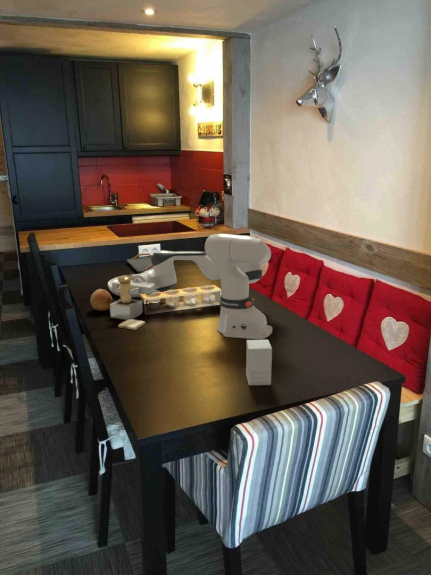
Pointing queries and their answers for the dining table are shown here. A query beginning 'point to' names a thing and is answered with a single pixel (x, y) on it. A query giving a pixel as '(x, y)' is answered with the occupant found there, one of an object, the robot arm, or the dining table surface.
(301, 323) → the dining table surface
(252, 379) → the supplement box
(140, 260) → the serving board
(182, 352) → the dining table surface
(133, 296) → the bowl
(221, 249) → the robot arm
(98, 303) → the onion
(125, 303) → the cover plug
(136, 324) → the coaster
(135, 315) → the housing
